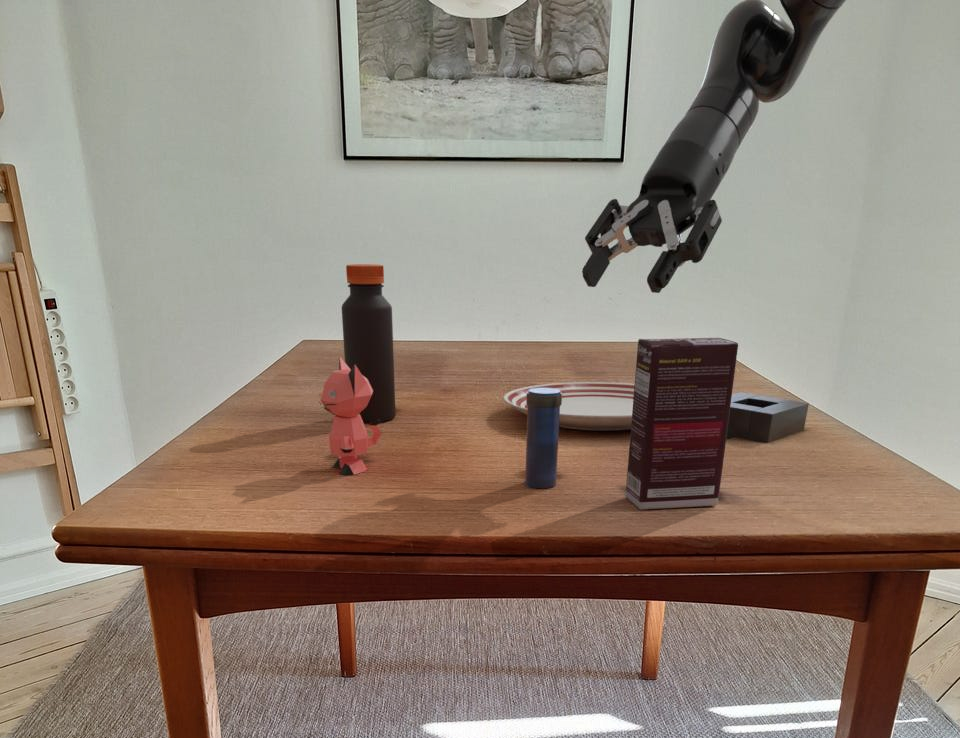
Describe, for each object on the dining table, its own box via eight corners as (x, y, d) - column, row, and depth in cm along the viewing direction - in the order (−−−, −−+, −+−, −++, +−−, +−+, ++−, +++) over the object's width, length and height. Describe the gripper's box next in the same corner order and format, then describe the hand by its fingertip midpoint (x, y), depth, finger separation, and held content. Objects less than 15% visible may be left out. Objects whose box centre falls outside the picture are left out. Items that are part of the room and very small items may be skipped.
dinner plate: (464, 414, 123) (464, 391, 121) (591, 392, 139) (592, 371, 137) (606, 452, 104) (608, 425, 103) (733, 421, 120) (736, 397, 119)
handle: (564, 484, 92) (569, 390, 87) (542, 491, 90) (546, 395, 85) (538, 477, 94) (542, 385, 90) (516, 483, 92) (519, 390, 87)
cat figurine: (316, 463, 98) (307, 356, 93) (372, 457, 101) (367, 353, 95) (332, 479, 93) (324, 366, 87) (391, 473, 95) (387, 363, 90)
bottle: (353, 424, 116) (344, 266, 107) (343, 414, 122) (334, 263, 113) (400, 421, 118) (395, 266, 109) (389, 411, 124) (384, 263, 115)
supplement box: (699, 493, 89) (720, 336, 82) (718, 507, 85) (742, 343, 78) (621, 496, 88) (636, 337, 81) (637, 511, 84) (654, 344, 77)
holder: (802, 437, 112) (809, 403, 110) (766, 450, 106) (772, 414, 104) (735, 424, 119) (740, 392, 116) (697, 436, 112) (701, 402, 110)
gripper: (625, 139, 94) (553, 255, 92) (740, 134, 85) (664, 261, 83) (647, 194, 100) (580, 303, 98) (757, 194, 91) (686, 315, 89)
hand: (619, 284), depth 90 cm, fingers open, 8 cm apart
